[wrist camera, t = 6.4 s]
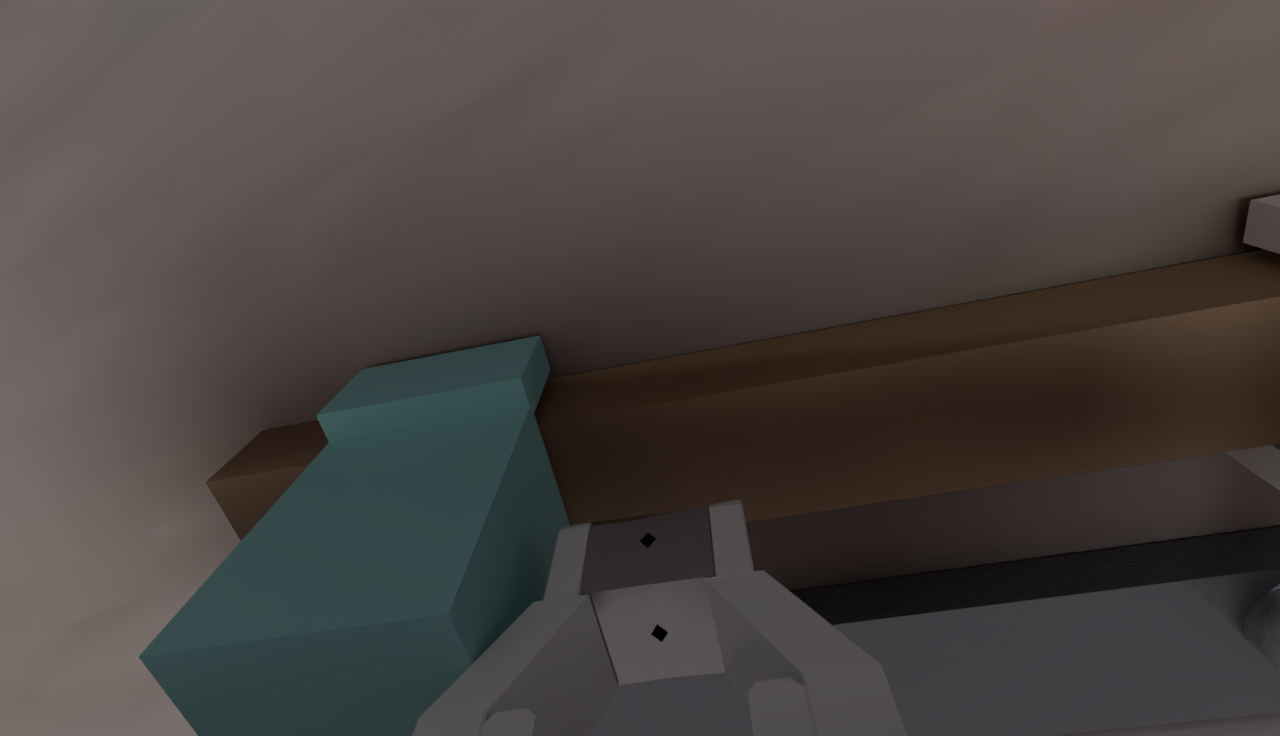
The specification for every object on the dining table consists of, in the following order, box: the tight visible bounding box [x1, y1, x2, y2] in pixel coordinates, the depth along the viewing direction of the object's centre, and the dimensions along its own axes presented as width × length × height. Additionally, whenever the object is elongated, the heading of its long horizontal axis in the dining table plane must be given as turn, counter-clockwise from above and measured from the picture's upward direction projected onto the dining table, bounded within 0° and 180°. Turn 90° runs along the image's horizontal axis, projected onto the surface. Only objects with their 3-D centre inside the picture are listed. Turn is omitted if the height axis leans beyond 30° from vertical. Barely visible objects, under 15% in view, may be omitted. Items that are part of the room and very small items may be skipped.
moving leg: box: [139, 335, 570, 736], centre depth 12 cm, size 10×4×7 cm, turn 12°
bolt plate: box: [591, 526, 1280, 736], centre depth 16 cm, size 7×24×3 cm, turn 102°
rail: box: [206, 249, 1280, 541], centre depth 13 cm, size 3×24×2 cm, turn 102°
